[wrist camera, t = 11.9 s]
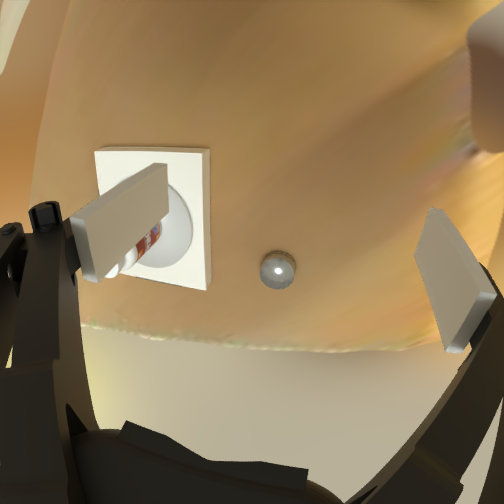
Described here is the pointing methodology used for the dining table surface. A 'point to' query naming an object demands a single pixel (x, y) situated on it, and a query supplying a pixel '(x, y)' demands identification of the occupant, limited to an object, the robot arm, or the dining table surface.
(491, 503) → the robot arm
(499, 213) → the dining table surface
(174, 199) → the scale
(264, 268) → the shiny grey dome
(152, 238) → the pill bottle
